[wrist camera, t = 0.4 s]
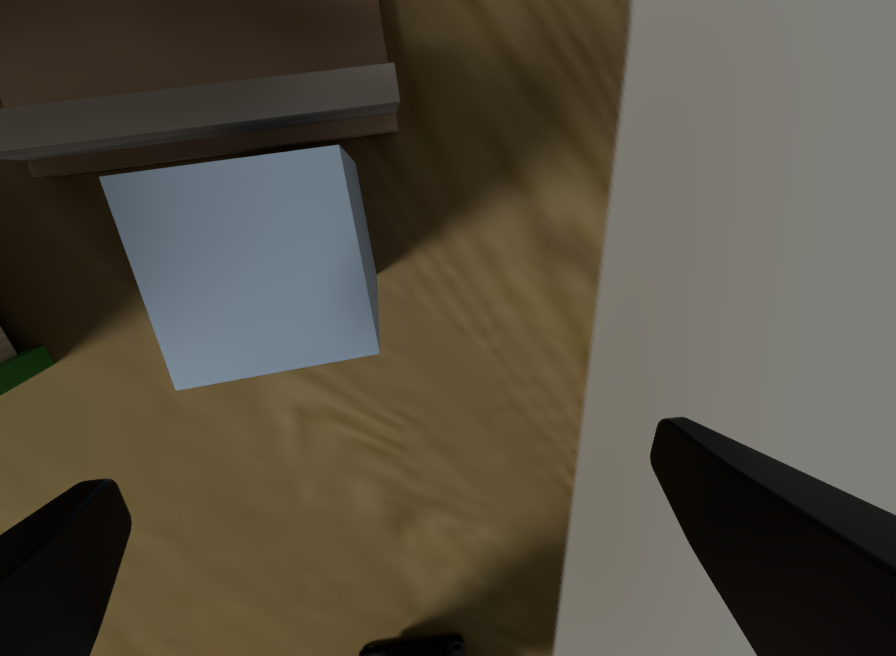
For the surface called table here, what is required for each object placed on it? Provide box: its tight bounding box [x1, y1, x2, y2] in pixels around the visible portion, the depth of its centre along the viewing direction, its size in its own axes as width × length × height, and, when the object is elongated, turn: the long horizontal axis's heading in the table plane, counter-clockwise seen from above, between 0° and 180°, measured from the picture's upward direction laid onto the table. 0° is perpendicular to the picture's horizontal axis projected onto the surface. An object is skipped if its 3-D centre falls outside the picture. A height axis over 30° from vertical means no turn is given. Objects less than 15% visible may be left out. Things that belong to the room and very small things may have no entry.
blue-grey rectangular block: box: [99, 145, 380, 391], centre depth 16 cm, size 5×5×10 cm
